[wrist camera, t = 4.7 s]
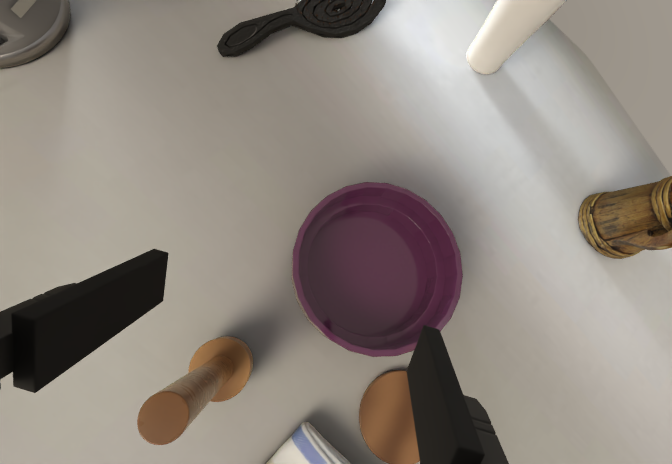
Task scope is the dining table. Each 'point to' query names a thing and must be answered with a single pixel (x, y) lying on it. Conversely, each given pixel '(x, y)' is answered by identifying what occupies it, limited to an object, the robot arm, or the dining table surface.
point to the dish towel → (307, 449)
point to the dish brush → (196, 389)
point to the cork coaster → (389, 419)
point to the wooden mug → (629, 219)
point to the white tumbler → (508, 31)
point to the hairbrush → (303, 22)
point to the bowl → (376, 268)
